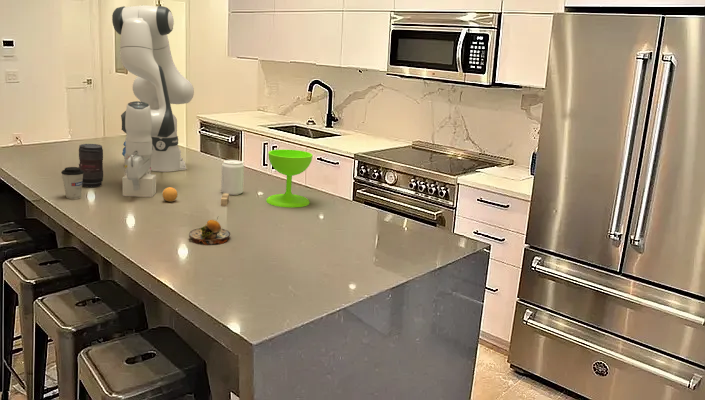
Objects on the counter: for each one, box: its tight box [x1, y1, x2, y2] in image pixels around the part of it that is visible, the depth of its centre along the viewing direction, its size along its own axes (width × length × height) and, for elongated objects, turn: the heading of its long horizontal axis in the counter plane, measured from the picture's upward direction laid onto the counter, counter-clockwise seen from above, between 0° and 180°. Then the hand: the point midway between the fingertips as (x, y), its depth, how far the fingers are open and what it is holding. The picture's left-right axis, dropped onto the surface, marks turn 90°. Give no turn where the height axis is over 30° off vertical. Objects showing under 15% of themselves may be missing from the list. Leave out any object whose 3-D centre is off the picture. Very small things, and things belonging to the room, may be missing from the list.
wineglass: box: [265, 148, 313, 209], centre depth 218 cm, size 16×16×18 cm
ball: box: [162, 186, 178, 203], centre depth 207 cm, size 5×5×5 cm
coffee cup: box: [61, 166, 84, 200], centre depth 203 cm, size 7×7×10 cm
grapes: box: [121, 141, 126, 160], centre depth 253 cm, size 12×7×12 cm, turn 49°
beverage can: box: [220, 159, 245, 196], centre depth 224 cm, size 8×8×12 cm
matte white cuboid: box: [121, 173, 157, 198], centre depth 213 cm, size 7×10×7 cm
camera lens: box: [78, 143, 104, 188], centre depth 219 cm, size 8×8×15 cm
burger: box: [188, 217, 231, 246], centre depth 173 cm, size 12×12×8 cm
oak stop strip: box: [220, 192, 230, 207], centre depth 211 cm, size 8×2×2 cm, turn 6°
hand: (139, 186), depth 214 cm, fingers closed on matte white cuboid, 7 cm apart
